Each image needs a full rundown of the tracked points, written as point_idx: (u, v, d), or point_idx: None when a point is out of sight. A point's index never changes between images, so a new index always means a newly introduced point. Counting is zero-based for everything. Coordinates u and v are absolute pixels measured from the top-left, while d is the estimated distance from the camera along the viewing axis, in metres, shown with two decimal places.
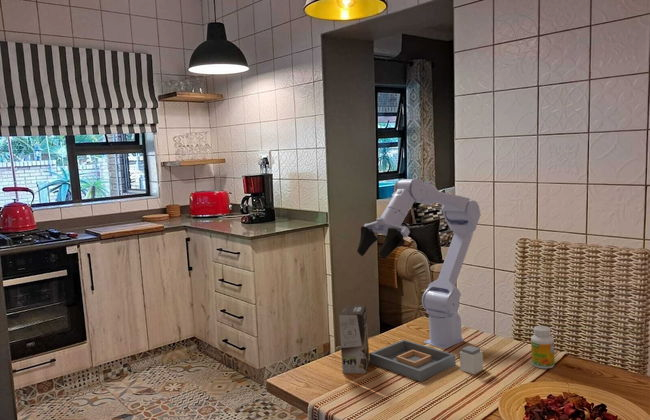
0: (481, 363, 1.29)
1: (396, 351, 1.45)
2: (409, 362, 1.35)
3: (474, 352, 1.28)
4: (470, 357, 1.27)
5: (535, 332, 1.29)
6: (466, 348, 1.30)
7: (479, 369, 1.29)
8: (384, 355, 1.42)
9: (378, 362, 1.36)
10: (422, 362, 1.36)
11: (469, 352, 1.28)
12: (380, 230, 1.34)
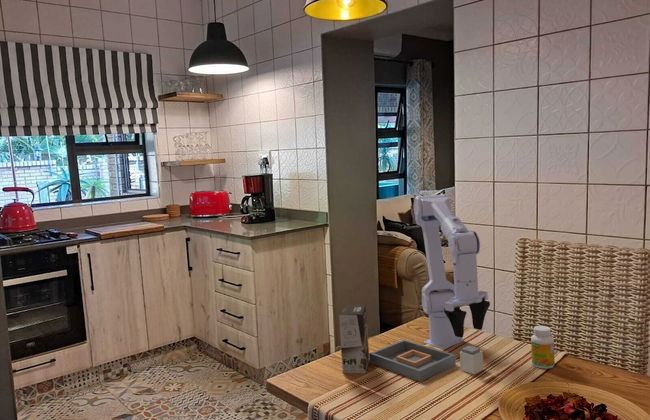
0: (481, 363, 1.29)
1: (396, 351, 1.45)
2: (409, 362, 1.35)
3: (474, 352, 1.28)
4: (470, 357, 1.27)
5: (535, 332, 1.29)
6: (466, 348, 1.30)
7: (479, 369, 1.29)
8: (384, 355, 1.42)
9: (378, 362, 1.36)
10: (422, 362, 1.36)
11: (469, 352, 1.28)
12: (465, 303, 1.27)
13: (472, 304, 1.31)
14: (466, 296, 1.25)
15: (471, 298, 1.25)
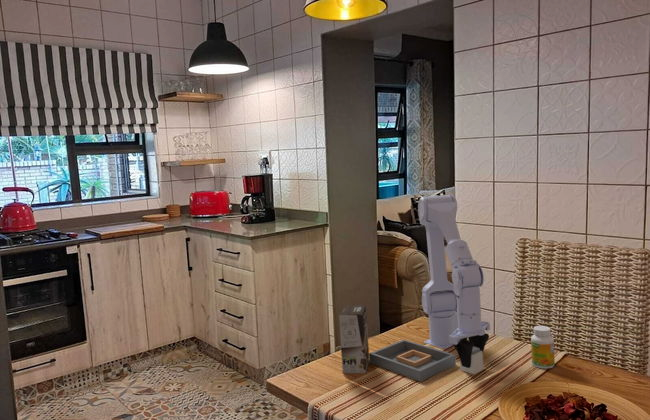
0: (481, 363, 1.29)
1: (396, 351, 1.45)
2: (409, 362, 1.35)
3: (474, 352, 1.28)
4: None
5: (535, 332, 1.29)
6: None
7: (479, 369, 1.29)
8: (384, 355, 1.42)
9: (378, 362, 1.36)
10: (422, 362, 1.36)
11: None
12: None
13: (471, 336, 1.32)
14: (470, 329, 1.26)
15: (475, 331, 1.26)
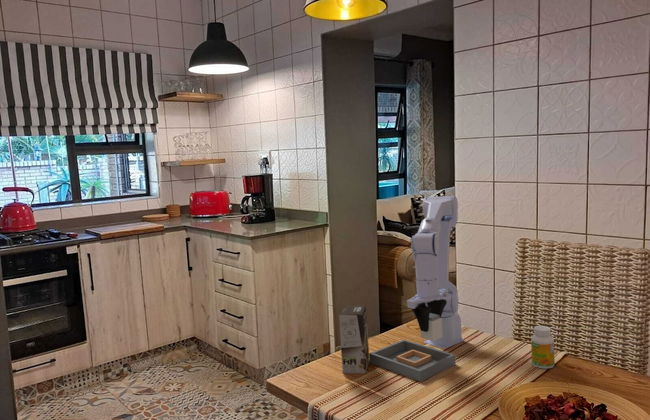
0: (440, 329, 1.34)
1: (396, 351, 1.45)
2: (409, 362, 1.35)
3: (433, 318, 1.33)
4: (430, 323, 1.32)
5: (535, 332, 1.29)
6: None
7: (438, 335, 1.33)
8: (384, 355, 1.42)
9: (378, 362, 1.36)
10: (422, 362, 1.36)
11: (429, 318, 1.33)
12: (426, 301, 1.33)
13: (430, 302, 1.37)
14: (428, 294, 1.31)
15: (432, 296, 1.31)
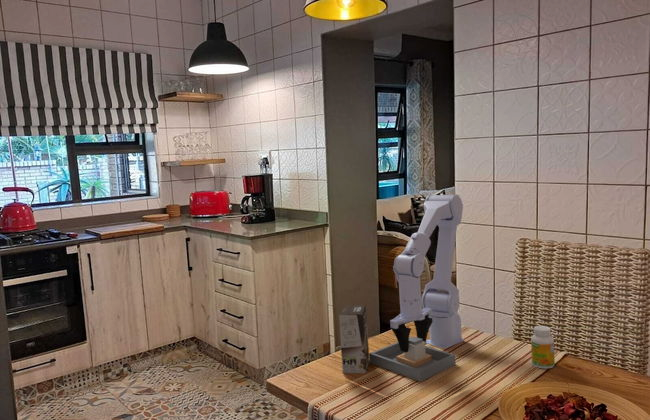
0: (424, 353, 1.37)
1: (396, 351, 1.45)
2: (409, 362, 1.35)
3: (416, 342, 1.36)
4: (413, 347, 1.35)
5: (535, 332, 1.29)
6: (410, 339, 1.38)
7: (421, 358, 1.37)
8: (384, 355, 1.42)
9: (378, 362, 1.36)
10: (422, 362, 1.36)
11: (412, 342, 1.36)
12: (409, 321, 1.37)
13: (416, 321, 1.41)
14: (410, 314, 1.35)
15: (415, 316, 1.35)
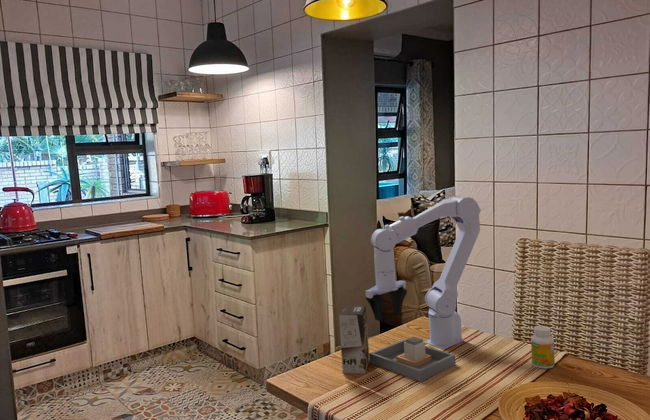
0: (424, 353, 1.37)
1: (396, 351, 1.45)
2: (409, 362, 1.35)
3: (416, 342, 1.36)
4: (413, 347, 1.35)
5: (535, 332, 1.29)
6: (410, 339, 1.38)
7: (421, 358, 1.37)
8: (384, 355, 1.42)
9: (378, 362, 1.36)
10: (422, 362, 1.36)
11: (412, 342, 1.36)
12: (384, 291, 1.46)
13: (392, 292, 1.50)
14: (385, 285, 1.44)
15: (388, 286, 1.44)
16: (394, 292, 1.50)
